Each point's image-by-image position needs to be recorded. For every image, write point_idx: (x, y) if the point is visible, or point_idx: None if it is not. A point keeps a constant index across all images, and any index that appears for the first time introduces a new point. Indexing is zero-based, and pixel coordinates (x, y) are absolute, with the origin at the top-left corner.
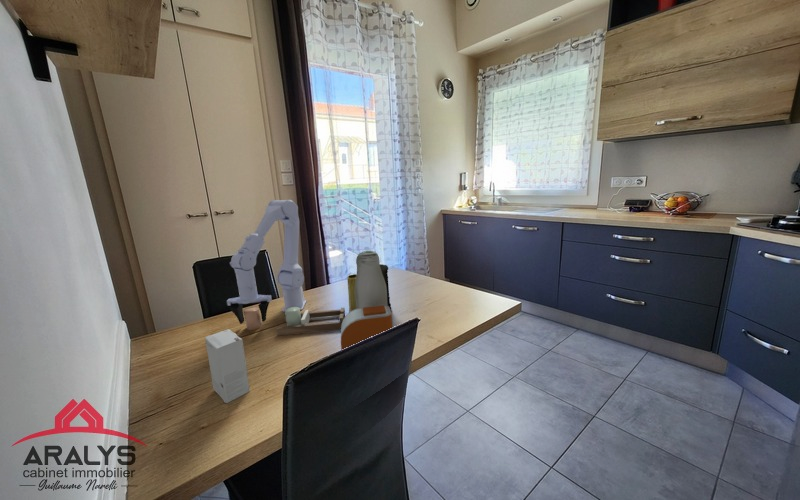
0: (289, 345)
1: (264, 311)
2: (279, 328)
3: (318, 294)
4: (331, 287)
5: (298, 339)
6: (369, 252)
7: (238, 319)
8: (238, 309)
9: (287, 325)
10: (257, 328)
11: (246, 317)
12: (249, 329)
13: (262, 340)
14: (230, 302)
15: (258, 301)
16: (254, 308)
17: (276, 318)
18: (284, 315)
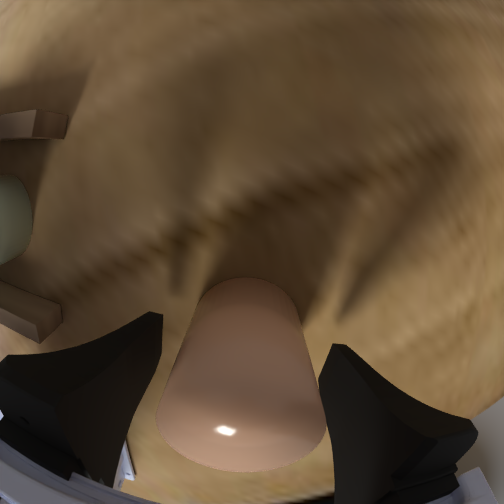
0: (40, 13)
1: (75, 347)
2: (22, 111)
3: None
4: None
5: (4, 64)
6: None
7: (366, 363)
8: (385, 444)
9: (11, 198)
10: (215, 285)
11: (293, 352)
12: (274, 286)
13: (151, 67)
14: (469, 500)
15: (102, 495)
16: (214, 454)
17: None
18: (35, 328)
